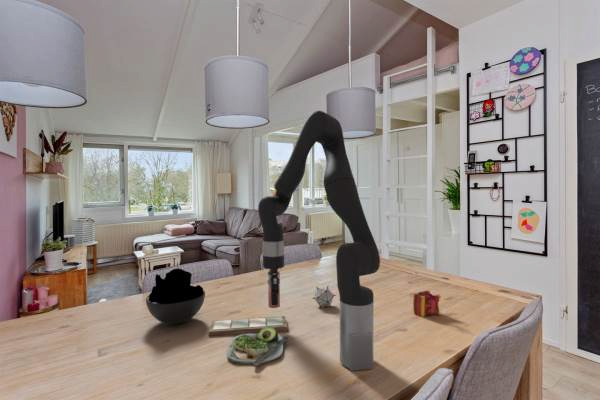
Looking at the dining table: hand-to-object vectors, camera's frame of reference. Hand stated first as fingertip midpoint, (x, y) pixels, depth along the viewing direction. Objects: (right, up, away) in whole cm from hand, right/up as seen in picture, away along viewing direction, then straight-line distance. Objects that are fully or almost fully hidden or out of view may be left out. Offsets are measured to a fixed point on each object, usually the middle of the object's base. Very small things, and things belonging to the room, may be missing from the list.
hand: (274, 302), depth 115 cm
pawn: (0, -1, 0) cm, 1 cm away
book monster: (+58, -8, +9) cm, 59 cm away
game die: (+19, -8, +20) cm, 28 cm away
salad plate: (-4, -10, -15) cm, 19 cm away
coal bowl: (-36, -9, +5) cm, 37 cm away
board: (-9, -9, 0) cm, 12 cm away
